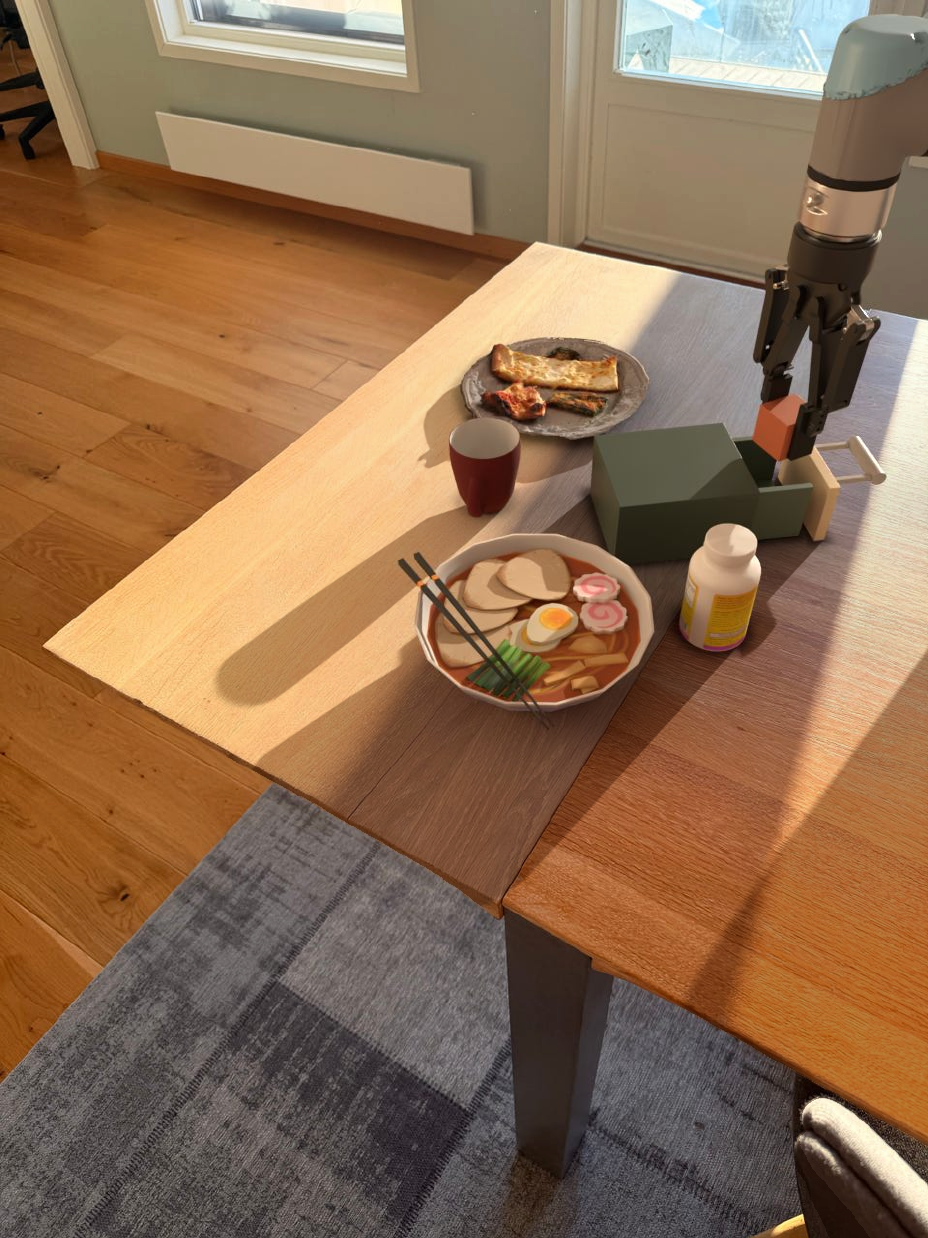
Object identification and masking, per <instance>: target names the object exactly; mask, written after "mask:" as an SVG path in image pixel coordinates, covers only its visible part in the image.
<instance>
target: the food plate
mask: <svg viewBox="0 0 928 1238" xmlns="http://www.w3.org/2000/svg"><path fill="white" fill-rule="evenodd" d="M645 370H646V369H645V367H644V365H642V364H641V362H640V361H639V360H638V359H637V358H636V357H635V356H633V355H632V354H630V353H629V352H628V351H624V350H623V349H621V348H617V347H615V346H613V345H610V344H608V342H606V343H605V342H604V341H601V340H596V339H589V338H578V337H559V336H558V337H552V336H550V337H549V336H548V337H547V336H544V337H536V338H535V337H534V338H527V339H523V340H517V341H516V342H513V343H510V344H507V345H505V344H503V343H497V344H496V343H495V344H493V346H492V349H491V350H490V352H489V353H488V354H485V355H484V356H482V357H479V358H478V359H477V360H476V361H475V363H473V364H472V365H471V366H470V368H469V369H468V370H467V371H466V372H465V373H464V375H463V378H462V379H461V382H460V385H459V389H460V394H461V396H462V400H463V402H464V407H465V409H467V412H469V413H470V414H471V418H473V417H474V416H475V418H484V417H489V418H497V419H501V420H504V421H507V422H509V423H511V424H512V425H514V426H515V427H516V428H517V430H518V431H519V433H522V434H527V435H530V436H531V437H533V436H544V437H553V436H554V437H558V436H559V437H563V438H565V439H567V440H570V441H572V440H577V439H578V440H580V439H584V438H585V439H587V438H590V437H594V436H595V435H603V434H605V433H607V432H608V431H610V430H612V429H613V428H614V429H615V426H617V424H620V423H622V422H623V421H625V420H627V419H629V418H630V417H631V416H633V415H634V413H635V412H636V411H637V410H638V409H639V408H640V407H641V405H642V403H643V402H644V400H645V398H646V394H647V392H648V388H649V384H650V378H649V375H648V373H647V372H646V371H645Z"/></svg>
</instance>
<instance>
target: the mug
mask: <svg viewBox="0 0 928 1238" xmlns="http://www.w3.org/2000/svg"><path fill="white" fill-rule="evenodd" d="M520 433H521V432H519V431H518V430H517V428H516V427H515V426H514V425H512V424H511V423H509V422H507V421H504V420H501V419H497V418H489V417H484V418H476V417H475V418H471V419H468V420H465V421H462V422H461V423H459V424H458V425H456V426H455V427H454V428H453V429H452V430H451V432H450V433H449V436H448V451H449V452H448V455H449V461H450V465H451V469H452V474H453V476H454V480H455V484H456V488H457V491H458V494H459V496H460V498H461V500H462V501H463V503H464V504H465V505H466V507H467V513H468V515H469V516H470V517H471V518H481V517H483V515H490V514H495V513H499V512H500V511H501V510H503V509H504V508H505V507H506V506H507V505H508V503H509V501H510V500H511V498H512V496H513V494H514V491H515V487H516V482H517V476H518V472H519V469H520V463H521V453H522V450H521V449H522V448H521V445H522V444H521V434H520Z"/></svg>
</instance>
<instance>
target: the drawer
mask: <svg viewBox="0 0 928 1238" xmlns="http://www.w3.org/2000/svg"><path fill="white" fill-rule="evenodd" d="M731 438H732V440H733V442H734V444H735V446H736V448H737V450H738V451H739V453H740V455H741V457H742V459H743V461H744V463H745V465H746V466H747V468H748V470H749V472H750V474H751V476H752V478H753V480H754V482H755V483H756V485H757V487H758V489H759V491H760V497H759V501H758V505H757V509H756V513H755V517H754V521H753V525H752V529H751V532H752V533H753V534H754V535H755V537H756V539H757V541H760V540H770V539H780V538H789V537H798V536H800V533H801V530H802V527H803V525H804V527H805V528H806V530H807V532H808V533H809V536H810V537H811V539H812V540H813V542H815V541H824V540H825V537H826V535H827V531H828V528H829V525H830V522H831V519H832V516H833V513H834V509H835V508H836V504H837V501H838V497H839V495H840V491H841V488H842V487H841V486H840V485H846V484H854V483H865V482H871V484H872V485H874V486H879V485H881V484H883V483H884V482H885V481H886V479H887V474H886V473H885V471H884V470H883V469H882V467H881V466H880V464H879V463H878V461H877V460H876V458H875V457H874V455H873V453H872V452H871V451H870V449H869V448H868V446H866V444H865V443H864V441H863V440H862V438H861V437H860V436H858V435H854V436H851V437H850V438H848V439H847V441H838V442H828V443H818V444H814V447H813V451H812V454H810V455H807V456H804V457H801V458H799V459H796V460H793V461H790V460H789V459H785V460H782V461H781V463H780V468H779V472H778V475H777V478H778V480H779V482H780V484H781V485H777V486H776V484H775V482H774V480H773V477H774V475H775V470H776V466H777V462H778V461H777V460H776V459H775V458H773V457H772V456H771V455H770V454H769V453H767V452H766V451H765V450H764V449H763V448H761V447H760V446H759V445H758V444H757V443H755V442H754V441H753V440H752V439H753V435H749V436H748V435H746V436H739V437H731ZM845 449H848V450H849V452H850V453H851V454H852V456H853V458H854V459H855V460H856V462H857V463H858V465H859V466H860V468H861V469H862V471H863V473H862V474H852V475H843V476H834V474H833V473H832V471H831V470H830V468H829V466H828V465H827V463H826V462H825V460H824V459H823V457H822V456H821V454H820V452H827V451H837V450H845Z"/></svg>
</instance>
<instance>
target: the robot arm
mask: <svg viewBox="0 0 928 1238" xmlns="http://www.w3.org/2000/svg"><path fill="white" fill-rule="evenodd" d="M833 50H834V51H833V54H832V57H831V62H830V66H829V69H828V72H827V76H826V79H825V81H824V83H823V85H822V91H823V92H822V97H821V102H820V107H819V113H818V117H817V121H816V125H815V131H814V135H813V139H812V145H811V149H810V155H809V159H808V164H807V168H806V172H805V177H804V181H803V185H802V190H801V195H800V200H799V203H798V209H797V213H796V217H797V219H798V221H797V222H795V224H794V226H793V229H792V233H791V237H790V243H789V246H788V251H787V256H786V264H781V265H777V266H774V267H770V268H767V269H766V270H765V272H764V286H765V287H764V292H765V293H764V297H763V303H762V307H761V313H760V316H759V317H760V319H759V322H758V327H757V333H756V337H755V343H754V348H753V354H752V360H753V362H754V363H755V364H760V365H761V366H762V374H763V381H762V385H761V390H760V394H759V395H760V401H762V402H761V404H764V403H767V402H770V401H773V400H776V399H779V398H782V397H785V396H788V395H790V391H791V386H792V382H793V379H794V376H793V375H792V374H791V373H789V372H788V371H790V370H793V369H794V368H795V366H793V364H792V362H793V361H794V358H795V356H796V354H797V352H798V350H799V348H800V345H801V344H802V341H803V339H804V337H805V335H806V332H807V331H808V340H809V341H810V342H811V354H810V364H809V365H810V366H809V378H808V389H807V390H808V391H807V401H806V403H803V404H800V407H799V411H798V415H797V419H796V422H795V427H794V431H793V434H792V438H791V442H790V446H789V450H788V453H787V457H786V458H788V459H789V460H790V461H793V460H796V459H799V458H801V457H804V456H807V455H810V454H812V451H813V447H814V445H816V444H815V443H816V440H817V436H818V435H821V434H822V433H823V431H824V429H825V425H826V421H827V419H828V416H829V415H830V414H832V413H834V412H837V411H840V410H843V409H846V408H848V407H849V406H850V404H851V401H852V398H853V396H854V392H855V389H856V386H857V383H858V380H859V377H860V373H861V370H862V368H863V364H864V361H865V358H866V355H867V351H868V349H869V346H870V342H871V340H872V339H873V338H874V336H875V335H876V334H877V332H879V329H880V328H881V326H882V321H881V319H880V317H879V316H877V315H875V316H871V317H869V316H868V314H867V313H866V312H865V311H864V309H863V308H862V307H861V306H862V302H863V295H862V286H863V284H864V283H865V280H866V279H867V278H868V276H869V275H870V273H871V272H872V270H873V267H874V266H875V265H874V264H875V262H876V258H877V254H878V251H879V248H880V244H881V240H882V238H883V233H882V230H883V229H884V228H885V226H886V225H887V223H888V222H887V221H888V218H889V214H890V211H891V207H892V203H893V200H894V197H895V194H896V189H897V185H898V182H899V180H900V178H901V174H902V168H903V166H904V163H905V161H906V159H907V158H909V157H921V158H922V157H923V158H928V11H927V12H925V13H924V15H923V16H922V17H921V16H916V15H901V14H898V13H880V14H871V15H866V16H862V17H860V18H859V17H858V18H857V19H855V20H852V21H851V22H850V23H848V24H847V25H845V27H843V29H842V30H841V32H840V33H839V35H838V37H837V40H836V43H835V47H834V49H833ZM785 372H788V373H785Z"/></svg>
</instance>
